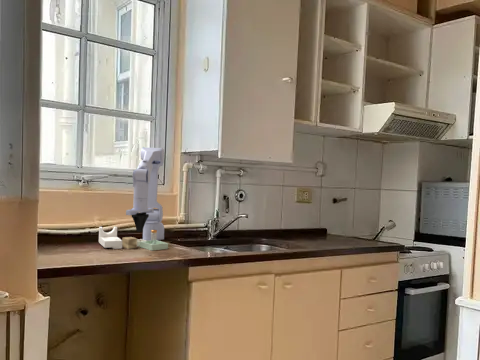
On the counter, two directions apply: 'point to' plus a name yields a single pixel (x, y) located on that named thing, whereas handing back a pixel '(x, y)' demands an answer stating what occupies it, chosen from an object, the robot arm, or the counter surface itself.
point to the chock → (129, 242)
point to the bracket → (110, 239)
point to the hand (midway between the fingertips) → (139, 231)
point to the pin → (153, 236)
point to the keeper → (139, 241)
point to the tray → (153, 245)
